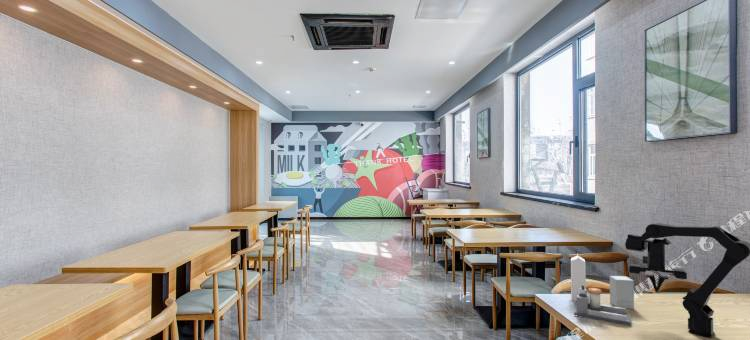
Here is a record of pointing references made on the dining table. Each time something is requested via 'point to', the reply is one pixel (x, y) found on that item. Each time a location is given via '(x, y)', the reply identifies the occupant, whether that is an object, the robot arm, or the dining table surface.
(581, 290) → the potentiometer
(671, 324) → the dining table surface
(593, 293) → the knob
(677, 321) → the dining table surface
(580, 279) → the milk
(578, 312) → the mount
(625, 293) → the supplement box
